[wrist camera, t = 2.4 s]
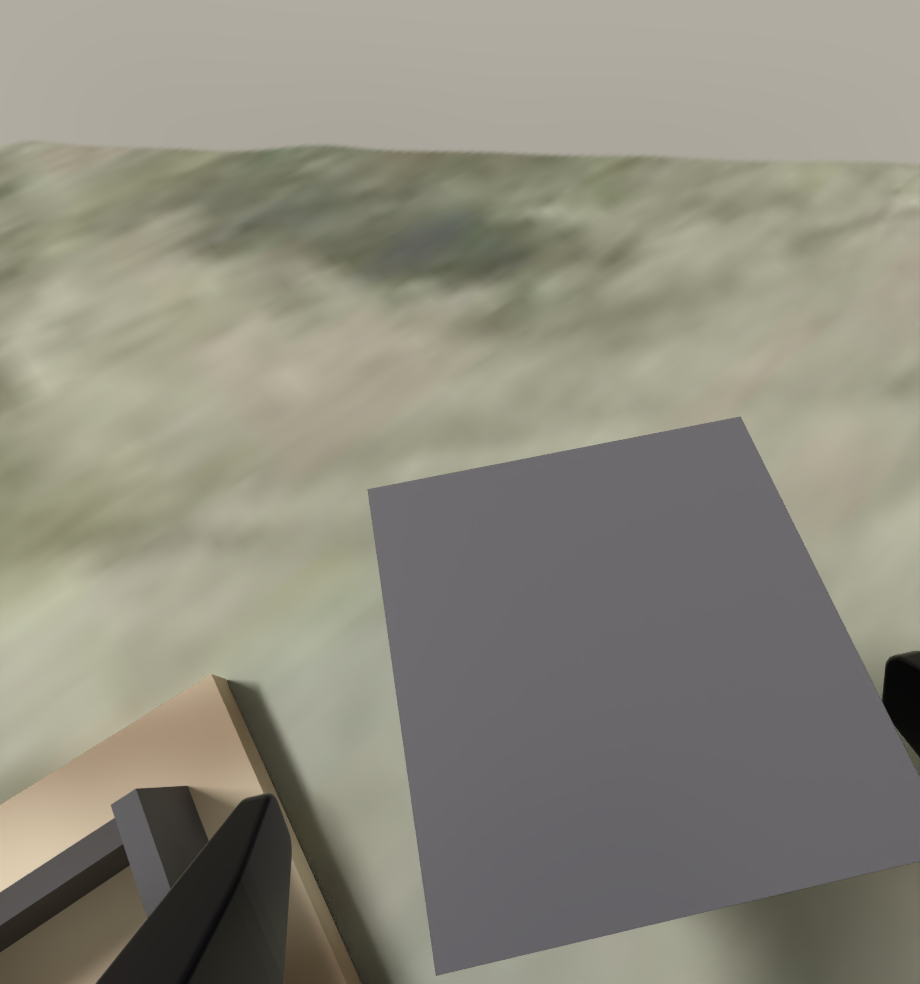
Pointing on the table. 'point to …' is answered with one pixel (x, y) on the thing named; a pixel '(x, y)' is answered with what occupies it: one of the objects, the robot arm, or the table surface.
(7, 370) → the table surface
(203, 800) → the socket board
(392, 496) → the plug block
